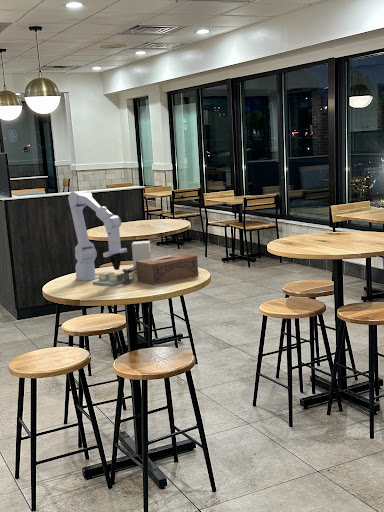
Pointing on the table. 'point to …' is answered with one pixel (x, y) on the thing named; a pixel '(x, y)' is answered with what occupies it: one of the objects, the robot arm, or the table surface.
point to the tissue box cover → (167, 268)
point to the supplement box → (140, 251)
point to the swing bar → (130, 269)
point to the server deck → (110, 283)
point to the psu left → (105, 276)
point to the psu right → (116, 277)
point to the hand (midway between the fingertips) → (116, 269)
